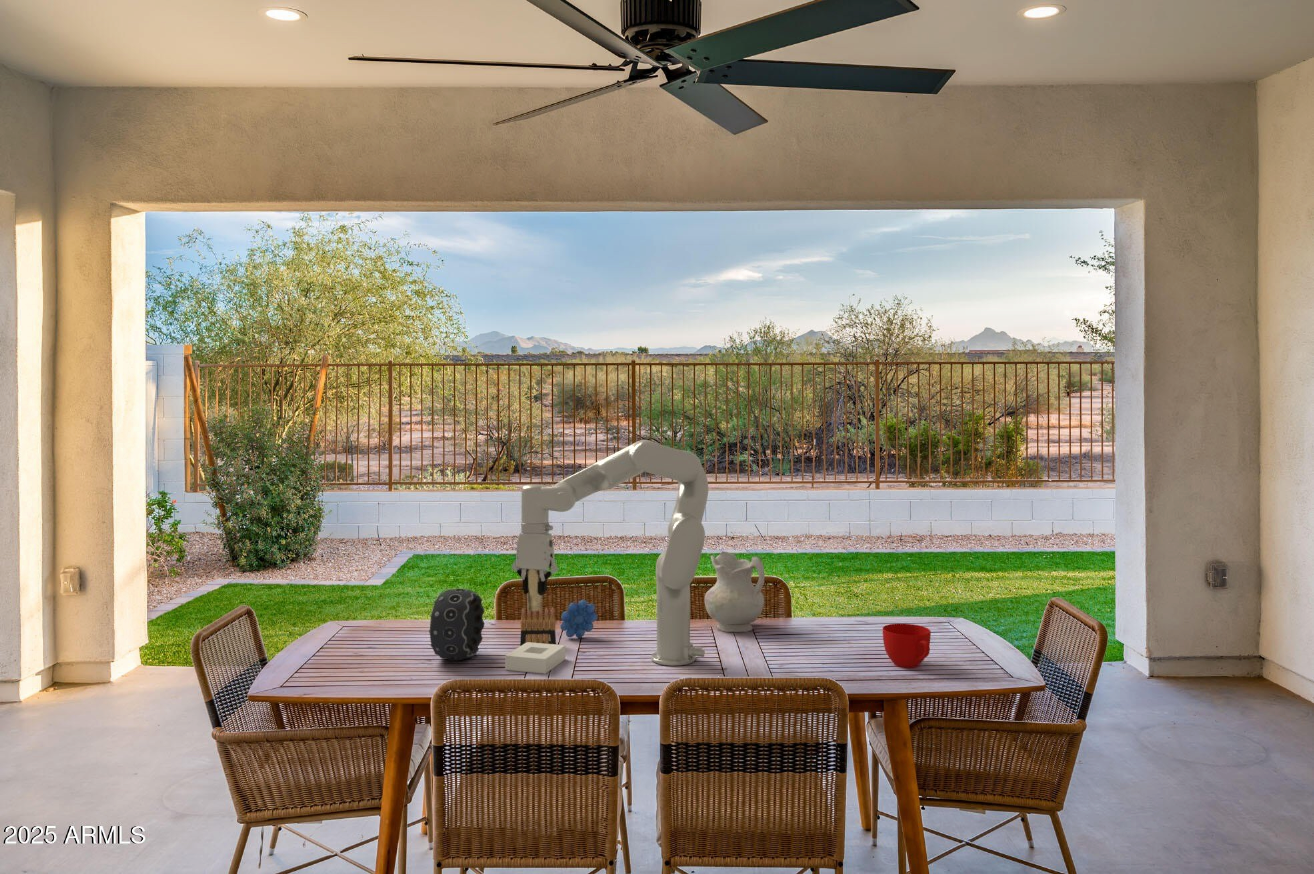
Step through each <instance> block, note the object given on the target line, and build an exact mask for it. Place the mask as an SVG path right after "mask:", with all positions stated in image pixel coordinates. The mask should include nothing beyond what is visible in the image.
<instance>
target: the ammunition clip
mask: <svg viewBox="0 0 1314 874" xmlns="http://www.w3.org/2000/svg"><path fill="white" fill-rule="evenodd" d="M520 615H521V617H520V618H521V619H520V640H519V641H520V642H519V644H520V645H519V647H520V646H522V645H523V644H525V643H526V642H532V643H544V644H556V645H557V637H556V616H555V608H554V607H553V606H552V607H551V610H550V616H549V609H548V607H547V606H546V607H545V610H544V614H543V609H541V610H538V611H530V610H528V609H527V613H526V611H525V607H524V606H523V607H522V608H521V614H520ZM526 615H527V616H526Z"/></svg>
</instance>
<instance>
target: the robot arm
mask: <svg viewBox="0 0 1314 874" xmlns="http://www.w3.org/2000/svg"><path fill="white" fill-rule="evenodd" d="M642 473H648V474H652V475H655V476H657V477H662V478H666V479H670V480H673V481H677V485H678V493H677V496H676V500H675V501H676V502H675V503H674V504H675V505H674V508H673V511H672V514H671V518H670V521H669V524H668V526H667V535H668V538H669V540H668V544H667V547H666V550H663V552H661V554H659V556H658V558H657V560H656V563H655V579H656V581H655V582H656V651H655V652H654V653H652V654H651V661H652V662H653V663H655V664H658V665H663V666H671V667H672V666H674V667H675V666H685V665H689V664H691V663H694V662H695V660H696V657H700V658H704V657H705V649H703V648H702V647H701V648H700V647H695V646H694V642H691V587H690V584H692V581H694V578H695V576H696V573H697V569H698V566H699V562H700V560H701V556H702V552H703V549H704V545H705V539H706V532H705V527H704V525H703V523H702V522H703V518H704V513H705V509H706V505H707V502H708V495H709V481H708V476H707V474H706V471H705V470H704V467H703V466H702V461H701V460H700V458H699V457H698V456H697V455H696V454H695V453H693V452H691V451H688V450H685V449H683V450H681V449H677V448H675V447H670V446H666V445H663V444H659V443H658V442H657V443H656V442H654V441H651V440H649V439H641V440H638V441H635V442H634V443H632V444H629V445H627V446H626V447H624V448H622V449H620V450H619V451H616V452H614V453H612V454H611V455H608V456H607V457H605V458H602V459H600V460H599V461H597V462H595V463H592V464H591V465H590V466H589V467H585V468H584V469H582V470H581V471H578V472H576V473H574V474H572V475H571V476H568V477H566V478H564V479H563V480H561V481H558V482H557V483H556V484H554V485H553V486H547V485H545V484H534V483H533V484H526V485H523V487H522V488H521V506H520V507H521V519H520V520H521V521H520V523H521V525H520V526H521V530H520V531H521V532H520V533H519V534H518V539H517V544H516V553H515V560H514V561H513V563H512V565H511V567H510V568H511V569H512V570H513V571H514V572H515V573H516V574H517V575H518V576H519V577H520V579H521V580H522V591H523V595H527V591H528V569H531V568H532V569H536V570H539V572H540V578H541V581H539V595H542V596H543V595H546V593H547V591H548V580H549V579H550V578H551V576H552V575H553V574H555V573H557V572H558V571H559V567H558V566H557V565H558V564H557V563H556V561H555V550H554V549H555V548H554V547H555V546H554V541H553V535H552V533H549V532H550V531H553V529H554V526H553V525H550V522H549V521H550V520H549V517H550V516H549V511H551V512H558V513H563V512H568V511H570V510H572V509H573V508H574V506H575V504H576V503H577V502H579V501H581V500H583V499H584V498H587V497H589V496H591V495H594V494H595V493H599V492H600V491H607V490H611V489H613V488H615V487H617V486H619V485H621V484H623V483H625V482H627V481H628V480H631V479H633V478H635V477H636V476H639V475H640V474H642ZM549 569H550V570H549Z"/></svg>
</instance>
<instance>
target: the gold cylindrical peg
mask: <svg viewBox="0 0 1314 874" xmlns="http://www.w3.org/2000/svg"><path fill="white" fill-rule="evenodd" d="M539 581H541V578H540V572H539V570H536V569H532V568H531V569H528V591H527V594H526V595H527V597H526V598H527V602H526V603H527V611H528V610H530V611H531V612H533V611H537V612H539V610H541V609H542V608H543V607H542V606H543V595H539ZM542 610H543V609H542Z"/></svg>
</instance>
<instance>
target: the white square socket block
mask: <svg viewBox="0 0 1314 874" xmlns="http://www.w3.org/2000/svg"><path fill="white" fill-rule="evenodd" d="M504 656H505V657H504V659H505V660H504V662H505V664H504V665H505V666H504V668H505V671H512V672H513V671H514V672H524V673H535V674H536V673H537V674H548V672H550V671H551V670H553V669H554V668H555V667H557V666H558V665H560V664H561V663H563V661H565V660H566V645H565V644H557V643H556V644H544V643H532V642H527V641H526V643H525V644H523V645H522V646H520V645H519V646H518V647H517V648H515V649H513V650H512V651H510V652H509V653H507V654H505V655H504Z"/></svg>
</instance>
